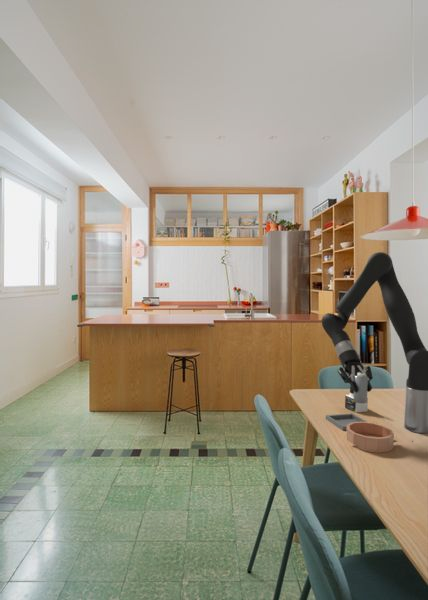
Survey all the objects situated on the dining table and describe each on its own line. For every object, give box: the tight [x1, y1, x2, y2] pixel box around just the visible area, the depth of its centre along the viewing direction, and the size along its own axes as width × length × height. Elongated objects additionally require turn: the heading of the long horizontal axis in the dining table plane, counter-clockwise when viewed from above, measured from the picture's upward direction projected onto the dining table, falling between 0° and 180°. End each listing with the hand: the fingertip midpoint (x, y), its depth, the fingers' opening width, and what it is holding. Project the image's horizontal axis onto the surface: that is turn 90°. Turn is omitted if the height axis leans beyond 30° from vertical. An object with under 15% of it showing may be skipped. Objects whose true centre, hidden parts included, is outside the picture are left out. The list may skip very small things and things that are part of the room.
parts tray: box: [325, 412, 368, 431], centre depth 166 cm, size 13×13×2 cm
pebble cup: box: [353, 372, 368, 403], centre depth 156 cm, size 5×5×11 cm
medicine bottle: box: [344, 385, 369, 414], centre depth 183 cm, size 7×7×12 cm
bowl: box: [345, 421, 395, 454], centre depth 149 cm, size 16×16×5 cm
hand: (363, 390), depth 154 cm, fingers closed on pebble cup, 5 cm apart
